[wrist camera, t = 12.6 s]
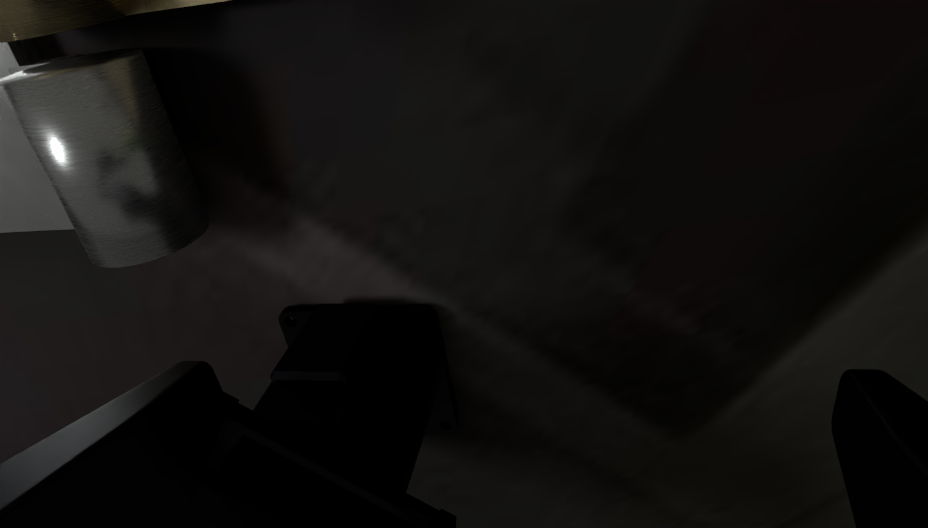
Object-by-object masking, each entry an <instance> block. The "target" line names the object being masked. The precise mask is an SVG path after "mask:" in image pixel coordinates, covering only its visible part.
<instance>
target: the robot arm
mask: <svg viewBox="0 0 928 528" xmlns="http://www.w3.org/2000/svg"><path fill="white" fill-rule="evenodd" d="M419 316H425V317H426V318H428V320H422V319H421V318H420V317H419ZM290 317H292V318H294V319H295V321H293V320H292V319H290ZM279 323H280V326H281V329H282V331H283V334H284V337H285V339H286V342H287V345H288V349H287V350H286V352H285V353H284V355H283V357H282V358H281V360H280V361H279V363H278V364H277V366H276V367H275V369H274V370H273V372H272V373H271V376H270V377H271V380H272V382H271V384H270V385H269V387H268V388H267V390H266V391H265V393H264V394H263V396H262V397H261V399H260V401H259V402H258V404H257V405H256V407H255V408H254V410H253V411H252V410H251V409H249V408H247V407H245V406H243V405H241V404H239V403H238V402H239V400H238V399H236V398H234V397H233V396H231V395H229V394H227V393H225V392H224V393H223V390H222V388H221V386H220V384H219V382H218V379H217V377H216V375H215V373H214V371H213V369H212V367H211V366H210V365H209V364H208V363H207V362H204V361H183V362H179V363H177V364H176V365H174V366H172V367H170V368H168V369H167V370H165V371H163V372H161V373H160V374H158V375H156V376H154V377H153V378H151V379H149V380H147V381H146V382H144V383H142V384H140V385H139V386H137V387H135V388H133V389H131V390H130V391H128V392H126V393H124V394H123V395H121V396H119V397H117V398H116V399H114V400H112V401H110V402H109V403H107V404H105V405H103V406H102V407H100V408H98V409H96V410H94V411H93V412H91V413H89V414H87V415H86V416H84V417H82V418H80V419H79V420H77V421H75V422H73V423H72V424H70V425H68V426H66V427H65V428H63V429H61V430H59V431H57V432H56V433H54V434H52V435H50V436H49V437H47V438H45V439H43V440H42V441H40V442H38V443H36V444H35V445H33V446H31V447H29V448H28V449H26V450H24V451H22V452H20V453H19V454H17V455H15V456H13V457H12V458H10V459H8V460H6V461H5V462H3V463H1V464H0V528H456V516H454V515H452V514H451V513H449V512H447V511H445V510H443V509H441V510H437V509H435V508H433V507H431V506H430V505H428V504H426V503H424V502H422V501H420V500H418V499H417V498H415V497H413V496H411V495H409V494H407V493H406V491H407V488H408V485H409V482H410V479H411V475H412V472H413V469H414V466H415V463H416V460H417V456H418V453H419V450H420V447H421V444H422V441H423V437H424V434H447V435H448V434H453V433H455V432H456V430H457V427H458V423H459V418H458V413H457V408H456V403H455V398H454V393H453V388H452V383H451V378H450V374H449V369H448V364H447V359H446V354H445V349H444V344H443V339H442V334H441V329H440V324H439V319H438V315H437V312H436V311H435V310H434V309H433V308H432V307H431V306H429V305H424V304H404V305H377V304H319V305H317V306H288V307H286V308H285V309H284V310H283V311H282V312H281V314H280V316H279ZM445 422H448V423H449V424H448V423H445ZM832 434H833V438H834V442H835V446H836V450H837V454H838V458H839V462H840V466H841V470H842V473H843V477H844V481H845V485H846V489H847V493H848V497H849V501H850V505H851V509H852V512H853V516H854V520H855V524H856V528H928V401H926V400H925V399H924V398H922V397H921V396H919V395H918V394H916V393H915V392H914V391H912V390H911V389H909V388H908V387H906V386H905V385H904V384H902V383H901V382H899V381H898V380H896V379H895V378H893V377H892V376H891V375H889V374H888V373H886V372H884V371H881V370H860V369H850V370H847V371H845V372H844V373H843V374H842V376H841V379H840V383H839V387H838V392H837V396H836V401H835V405H834V410H833V414H832Z"/></svg>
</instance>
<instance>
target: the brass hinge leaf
mask: <svg viewBox="0 0 928 528" xmlns="http://www.w3.org/2000/svg"><path fill="white" fill-rule="evenodd" d="M223 1H230V0H0V43H4V42H11V41H17V40H23V39H29V38H34V37H40V36H45V35H50V34H55V33H60V32H65V31H70V30H74V29H79V28H83V27H88V26H92V25H96V24H100V23H104V22H108V21H111V20H115V19H118V18H121V17H124V16H126V15H131V14H138V13H145V12H152V11H159V10H167V9H174V8H181V7H188V6H195V5H202V4H209V3H216V2H223Z"/></svg>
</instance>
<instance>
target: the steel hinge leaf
mask: <svg viewBox="0 0 928 528" xmlns="http://www.w3.org/2000/svg"><path fill="white" fill-rule="evenodd" d="M209 224H210V220H209V218H208V215H207V212H206V210H205V207H204V205H203V202H202V200H201V197H200V195H199V192H198V190H197V187H196V185H195V182H194V180H193V177H192V175H191V172H190V170H189V167H188V165H187V162H186V159H185V157H184V154H183V152H182V149H181V147H180V144H179V142H178V139H177V137H176V134H175V132H174V129H173V127H172V124H171V122H170V119H169V117H168V114H167V112H166V109H165V106H164V104H163V101H162V99H161V96H160V94H159V91H158V89H157V86H156V84H155V81H154V79H153V76H152V74H151V71H150V69H149V66H148V64H147V61H146V59H145V56H144V53H143V51H142V49H139V48H128V49H118V50H110V51H104V52H98V53H92V54H87V55H82V56H79V55H71V56H63V57H56V58H48V59H42V57H41V55H40V53H39V51H38V49H37V47H36V45H35V43H34V41H33V39H32V38H29V39H23V40H17V41H11V42H4V43H0V233H3V232H24V231H44V230H65V229H75V231H76V233H77V235H78V237H79V238H80V240H81V242H82V244H83V246H84V248H85V250H86V252H87V254H88V256H89V257H90V259H91V261H92V263H94V264H95V265H97V266H101V267H107V268H116V267H126V266H132V265H137V264H141V263H146V262H149V261H152V260H155V259H158V258H161V257H164V256H166V255H169V254H171V253H173V252H176V251H178V250H180V249H182V248H184V247H185V246H187V245H189V244H190V243H192V242H193V241H195V240H196V239H198V238H199V237H200V236H201V235H202V234H203V233H204V232H205V231H206V230H207V229H208V227H209Z"/></svg>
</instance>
